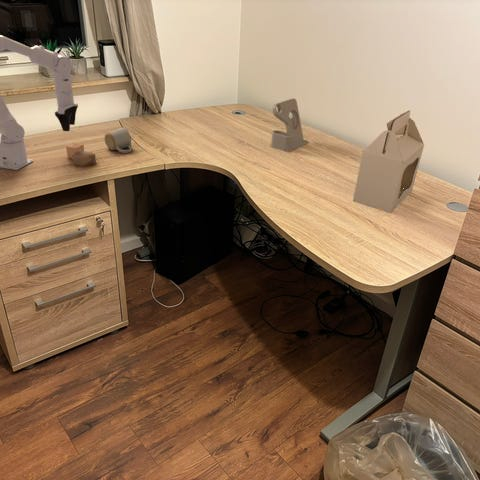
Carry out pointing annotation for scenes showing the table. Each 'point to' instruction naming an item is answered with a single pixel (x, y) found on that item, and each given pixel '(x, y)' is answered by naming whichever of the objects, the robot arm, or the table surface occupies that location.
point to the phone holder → (288, 127)
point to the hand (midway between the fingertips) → (69, 127)
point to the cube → (74, 149)
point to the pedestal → (84, 159)
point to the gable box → (390, 165)
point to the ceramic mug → (118, 140)
